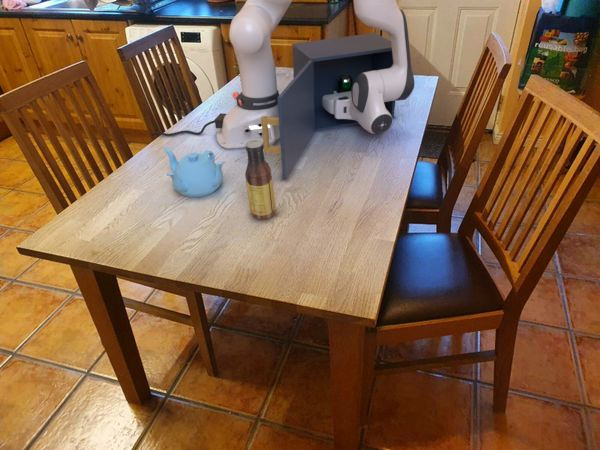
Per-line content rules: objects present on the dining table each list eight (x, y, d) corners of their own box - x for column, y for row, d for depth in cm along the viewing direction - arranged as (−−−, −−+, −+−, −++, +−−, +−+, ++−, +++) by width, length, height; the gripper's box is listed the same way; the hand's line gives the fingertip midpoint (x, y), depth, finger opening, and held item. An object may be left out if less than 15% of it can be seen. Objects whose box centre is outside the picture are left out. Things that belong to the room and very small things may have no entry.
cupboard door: (263, 177, 129) (255, 95, 115) (294, 131, 152) (291, 59, 138) (286, 179, 127) (281, 97, 113) (314, 133, 150) (312, 60, 136)
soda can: (354, 111, 161) (355, 77, 154) (341, 114, 160) (341, 80, 153) (347, 106, 165) (348, 73, 158) (334, 109, 164) (335, 75, 156)
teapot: (222, 170, 133) (217, 138, 127) (230, 197, 121) (225, 163, 115) (171, 179, 130) (163, 146, 124) (174, 207, 118) (166, 173, 112)
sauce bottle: (262, 204, 118) (255, 133, 106) (281, 212, 115) (275, 140, 103) (244, 215, 114) (235, 143, 102) (263, 224, 111) (255, 151, 99)
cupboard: (393, 118, 158) (400, 46, 144) (312, 133, 151) (310, 58, 137) (371, 100, 172) (375, 32, 157) (295, 112, 165) (292, 43, 150)
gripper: (390, 91, 149) (371, 78, 160) (331, 101, 144) (316, 86, 155) (388, 109, 153) (370, 95, 163) (331, 119, 148) (316, 104, 159)
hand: (343, 91), depth 159 cm, fingers closed on soda can, 5 cm apart
